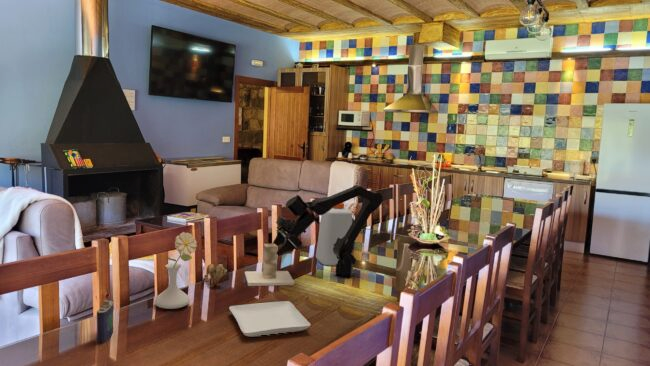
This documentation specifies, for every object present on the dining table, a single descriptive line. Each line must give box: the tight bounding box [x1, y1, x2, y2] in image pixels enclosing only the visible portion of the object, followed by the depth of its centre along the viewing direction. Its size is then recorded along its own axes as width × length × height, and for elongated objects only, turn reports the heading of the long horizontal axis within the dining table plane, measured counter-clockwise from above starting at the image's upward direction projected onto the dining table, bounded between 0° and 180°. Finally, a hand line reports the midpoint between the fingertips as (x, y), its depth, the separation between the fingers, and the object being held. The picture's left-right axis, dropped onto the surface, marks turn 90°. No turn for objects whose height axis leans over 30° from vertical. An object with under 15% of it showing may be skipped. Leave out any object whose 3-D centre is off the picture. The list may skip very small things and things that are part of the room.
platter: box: [244, 270, 295, 287], centre depth 194 cm, size 18×14×1 cm
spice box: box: [261, 243, 279, 279], centre depth 193 cm, size 5×5×13 cm
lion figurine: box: [204, 263, 228, 288], centre depth 185 cm, size 15×5×9 cm, turn 39°
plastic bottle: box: [315, 202, 353, 267], centre depth 224 cm, size 15×15×28 cm
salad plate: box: [228, 300, 312, 338], centre depth 152 cm, size 21×21×3 cm
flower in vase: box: [153, 231, 197, 310], centre depth 160 cm, size 13×11×25 cm
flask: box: [96, 299, 114, 345], centre depth 136 cm, size 9×3×11 cm, turn 8°
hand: (274, 251), depth 193 cm, fingers open, 9 cm apart
